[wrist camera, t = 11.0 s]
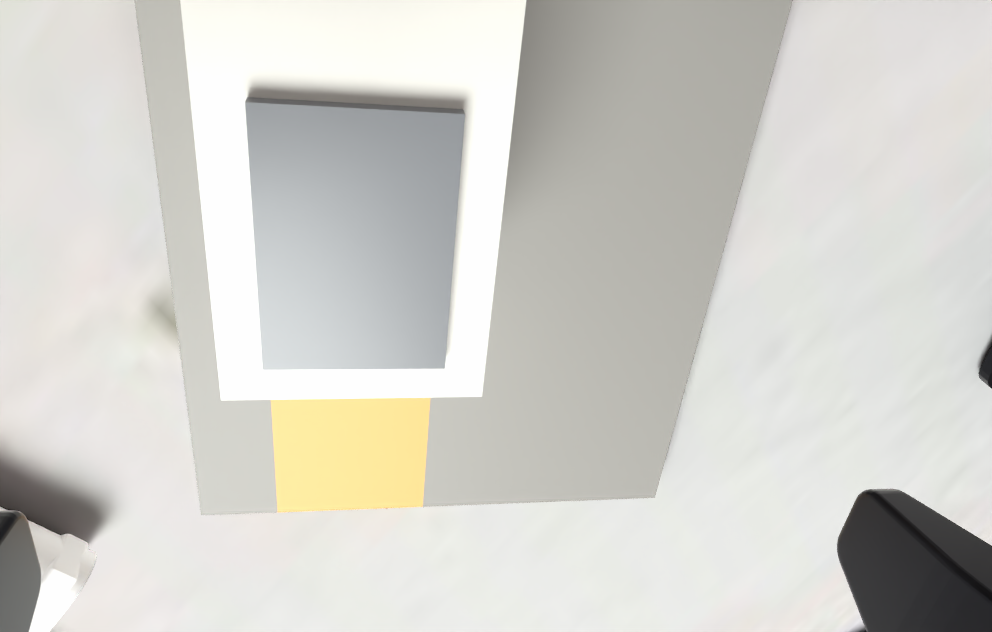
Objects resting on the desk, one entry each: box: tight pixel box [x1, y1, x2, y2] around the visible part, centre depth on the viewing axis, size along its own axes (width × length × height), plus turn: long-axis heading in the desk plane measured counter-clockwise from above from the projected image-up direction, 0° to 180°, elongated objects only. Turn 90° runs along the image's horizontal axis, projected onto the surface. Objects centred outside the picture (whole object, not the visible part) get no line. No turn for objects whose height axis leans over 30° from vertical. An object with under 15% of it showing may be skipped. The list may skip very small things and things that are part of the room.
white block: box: [180, 0, 526, 400], centre depth 14 cm, size 4×7×5 cm, turn 174°
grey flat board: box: [135, 0, 793, 515], centre depth 17 cm, size 13×20×1 cm, turn 174°
